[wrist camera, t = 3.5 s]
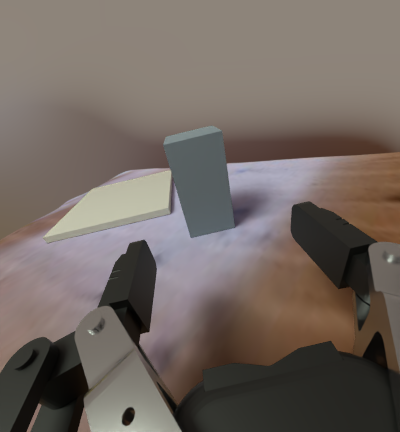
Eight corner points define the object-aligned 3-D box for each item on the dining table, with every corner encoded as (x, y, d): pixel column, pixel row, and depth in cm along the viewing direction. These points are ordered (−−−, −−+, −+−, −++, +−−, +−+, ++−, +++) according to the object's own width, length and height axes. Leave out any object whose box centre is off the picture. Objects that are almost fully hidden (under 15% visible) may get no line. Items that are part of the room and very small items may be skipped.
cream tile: (172, 174, 42) (171, 169, 41) (170, 213, 26) (168, 207, 26) (94, 192, 42) (92, 188, 41) (47, 243, 26) (42, 237, 26)
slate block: (224, 206, 25) (212, 125, 20) (234, 227, 21) (222, 130, 15) (188, 215, 25) (166, 136, 20) (190, 238, 21) (163, 144, 15)
